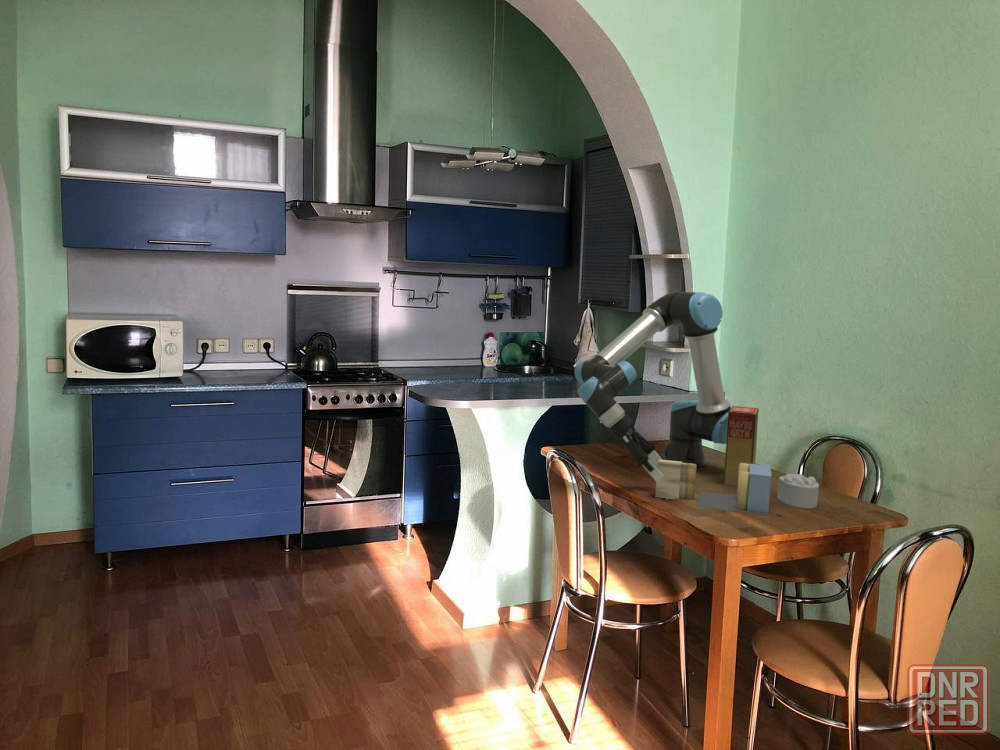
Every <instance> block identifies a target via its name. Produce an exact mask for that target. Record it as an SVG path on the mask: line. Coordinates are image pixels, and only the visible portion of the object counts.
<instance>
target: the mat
mask: <svg viewBox="0 0 1000 750" xmlns="http://www.w3.org/2000/svg"><path fill="white" fill-rule="evenodd" d="M697 502H698V503H697V507H698V508H704V509H712V510H713V509H714V510H721V511H732V512H739V513H748V514H754V515H755V514H757V515H765V516H769V512H768V513H763V512H755V511H747V510H739V509H737V508H736V505H737V494H734V495H733V494H724V493H716V492H708V491H700V493H699V498H698V501H697Z"/></svg>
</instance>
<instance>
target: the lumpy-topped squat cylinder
mask: <svg viewBox="0 0 1000 750" xmlns="http://www.w3.org/2000/svg"><path fill="white" fill-rule="evenodd" d="M777 487H778V488H777V496H776V499H777V500H779V501H780V502H781V503H783V504H785V505H788V506H791V507H794V508H800V509H815V508H817V507H818V501H819V498H818V497H819V488H820V484H819V483H818V482H817V480H816V477H814V476H808V477H806V476H805V475H803V474H799V473H795V474H794V473H787V474H785V475H783V476H782V475H781V476H779V477H778V485H777Z"/></svg>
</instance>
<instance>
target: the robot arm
mask: <svg viewBox="0 0 1000 750" xmlns="http://www.w3.org/2000/svg"><path fill="white" fill-rule="evenodd" d="M722 318H723V307H722V304H721V302H720V301H719V299H718V298H717V297H716V296H715V295H713V294H711V293H705V292H701V291H700V292H695V291H694V292H693V291H692V292H690V291H680V290H679V291H678V290H677V291H676V290H675V291H673V292H671V291H670V292H669V293H666V294H665V295H663V296H661V297H659V298H657V299H656V300H655V301H653V302H652V303H650V304H649V305H648V306H647V307H646V308H645V309H644V310H642V315H641V316H640V317H639V318H637V319H636V320H635V321H634V322H633V323H631V324H630V325H629V326H628V327H627V328H626V329H625V330H624V331H622V332H621V333H620V334H619V335H618V336H617V337H616V338H615V339H613V340H612V341H611V342H610V343H609V344H608V345H607V346H605V347H604V348H603V349H602V350H601V351H600V352H598V354H596V355H594V357H593V358H591V359H590V360H582V361H579V362H578V363H577V364H576V366H575V368H574V376H575V379H576V380H577V381H578V382H579V383H581V386H579V387H578V389H577V391H576V392H577V394H578V395H579V397H580V398H581V400H582V401H583V403H585V405H587V407H588V408H589V409H590V410H591V411H592V412H593V413H594V415H596V417H597V418H598V419H599V423H600V424H603V425H604V426H605V428H608V431H609V432H610V433H611V434H612V436H613V437H614V438H618V437H619V436H622V437H621V438H620V439H621V441H622V443H624V445H625V447H626V448H627V449H628V451H629V452H630V454H631V455H632V456H633V458H634V459H635V460H636V463H637V465H638V467H643V468H644V470H645V471H646V472H647V473H648V474H649V475H650V476H651V478H652V479H654V481H655V483H656V482H657V481H658V480H659V479H661V478H662V477H663V475H662V473H661V472H660V471H659V470H658V469H657V464H658V461H659V459H660V460H670V461H679V462H682V463H692V464H696V465H697V466H696V468H700V467H704V466H705V465H706V460H707V459H706V455H705V451H704V446H703V440H705V441H708V442H712V443H714V444H722V445H726V442H727V428H728V412H729V411H730V409H731V408H732V406H731V403H730V401H729V400H728V399H726V398H725V393H724V387H723V382H722V380H723V379H722V376H721V370H720V369H721V368H720V363H719V357H718V351H717V345H716V340H715V333H716V332H717V331H718V326H719V325H720V324H721V322H722ZM672 326H678V327H681V332H682V336H683V337H684V338H686V339H687V341H688V346H689V352H690V357H691V363H692V368H693V375H694V380H695V381H694V382H695V384H696V385H695V386H696V391H697V398H698V399H697V400H696V399H693V400H692V399H691V400H690V399H688V400H687V399H685V400H683V399H682V400H676V401H673V402H672V404H671V410H670V418H669V420H670V421H669V422H670V423H669V438H668V442H667V445H666V447H665V450H664V452H663V457H661V456H660V455H659V454H658V453H657V451H656V450H655V449H656V446H655V445H652V443H650V442H649V441H648V440H647V439H646V438H645V437H644V436H643V435H642V434H641V433H640V432H639V431H637V429H636V428H635V427H634V426H633V425H634V420H633V419H632V418H631V417H630V416H629V415H628V414H625V413H626V411H625V409H624V408H623V407H622V406H621V405H620V404H619V403H618V402H617V401H616V399H615V398H616V397H617V396H618V395H619V394H620V393H622V392H623V391H624V390H626V389H627V388H628V387H630V386H631V384H632V383H633V382H634V381H635V380H636V379H637V371H636V369H635V367H634V366H633V364H631V363H630V362H629V361H626V359H628V358H629V357H630V356H631V355H633V354H634V353H635V352H636V351H637V350H638V349H639V348H640V347H642V346H643V345H644V344H645V343H647V341H649V339H651V338H652V337H653V336H654V335H655V334H656V333H658V332H659V333H660V332H661V333H662V332H663V331H664V330H666V329H667V328H670V327H672ZM646 455H647V456H646Z"/></svg>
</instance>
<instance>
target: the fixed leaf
mask: <svg viewBox="0 0 1000 750" xmlns="http://www.w3.org/2000/svg"><path fill="white" fill-rule="evenodd" d="M771 485H772V470H771V465H769V464H758V463H755V464H747V463H740V464H739V476H738V486H737V487H736V488H737V489H736V496H737V505H736V508H737V509H739V510H747V511H755V512H763V513H768V514H769V511H770V510H769V509H770V498H771V487H772V486H771Z"/></svg>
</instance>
